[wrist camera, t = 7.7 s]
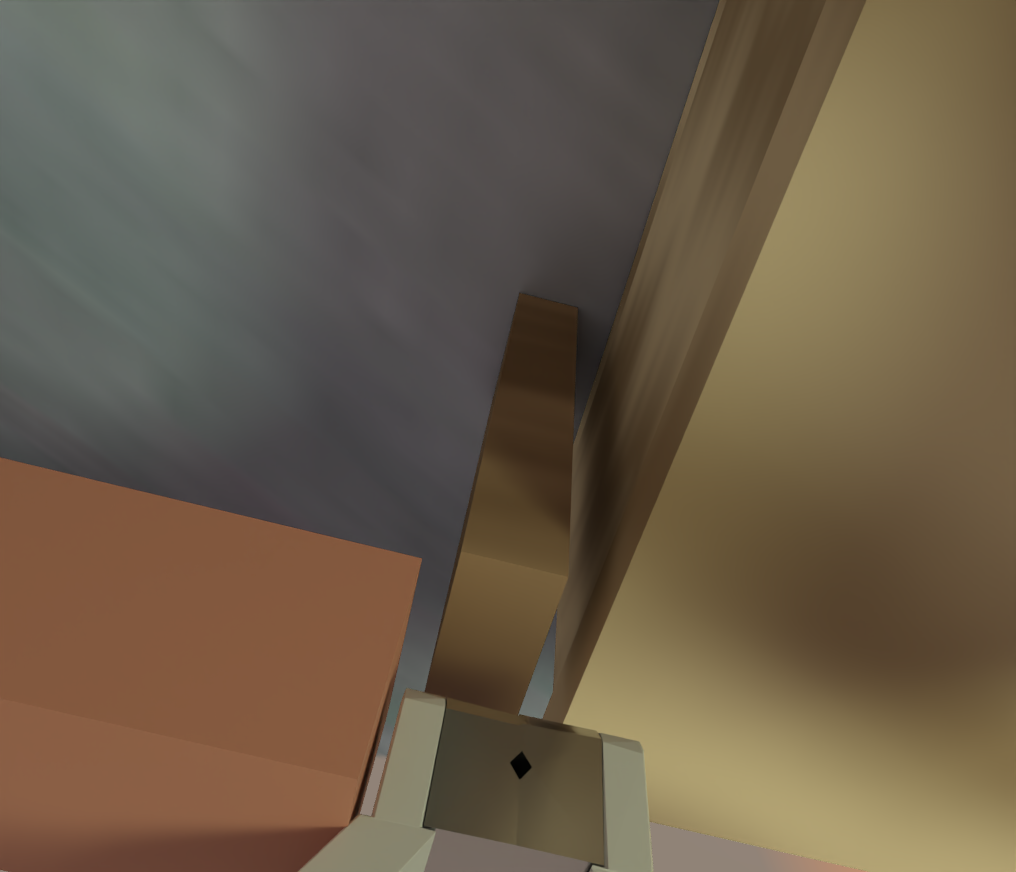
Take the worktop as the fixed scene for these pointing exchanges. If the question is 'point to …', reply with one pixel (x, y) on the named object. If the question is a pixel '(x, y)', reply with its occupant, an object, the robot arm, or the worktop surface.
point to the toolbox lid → (839, 478)
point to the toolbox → (606, 377)
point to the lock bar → (183, 680)
